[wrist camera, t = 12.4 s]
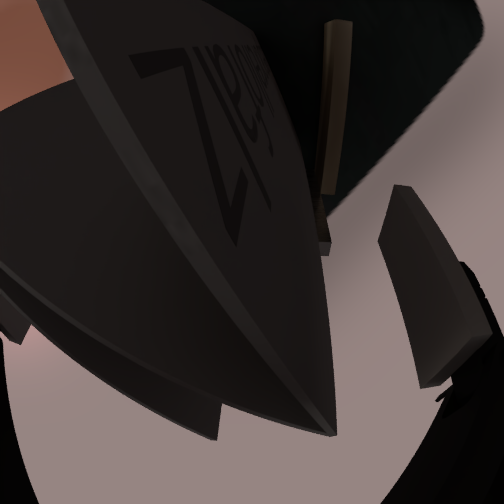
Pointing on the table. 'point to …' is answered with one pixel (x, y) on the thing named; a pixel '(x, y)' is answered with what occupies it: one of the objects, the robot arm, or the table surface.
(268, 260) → the brochure
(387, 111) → the table surface
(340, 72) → the slot rails
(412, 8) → the table surface
